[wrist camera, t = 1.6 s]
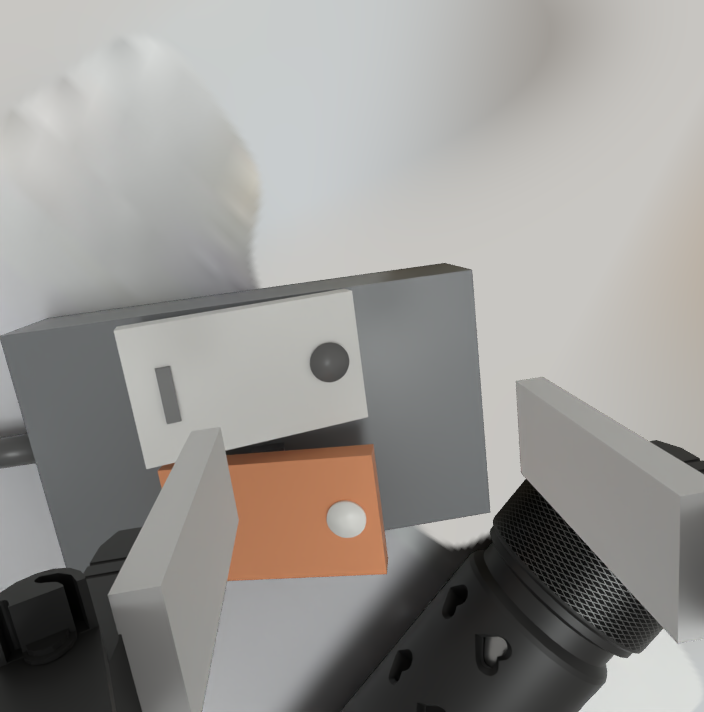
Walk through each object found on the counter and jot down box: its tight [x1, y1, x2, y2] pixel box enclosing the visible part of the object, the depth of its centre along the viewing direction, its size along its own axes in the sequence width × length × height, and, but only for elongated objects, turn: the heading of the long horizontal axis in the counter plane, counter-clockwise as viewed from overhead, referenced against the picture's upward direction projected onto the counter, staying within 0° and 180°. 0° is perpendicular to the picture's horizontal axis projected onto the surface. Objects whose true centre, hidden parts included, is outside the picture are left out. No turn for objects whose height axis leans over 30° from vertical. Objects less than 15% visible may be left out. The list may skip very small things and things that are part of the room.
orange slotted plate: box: [158, 444, 388, 581], centre depth 26 cm, size 10×6×1 cm, turn 97°
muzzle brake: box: [341, 479, 663, 712], centre depth 32 cm, size 10×28×10 cm, turn 143°
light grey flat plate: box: [114, 289, 368, 469], centre depth 24 cm, size 10×6×1 cm, turn 97°
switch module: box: [0, 263, 490, 573], centre depth 29 cm, size 28×13×6 cm, turn 97°
